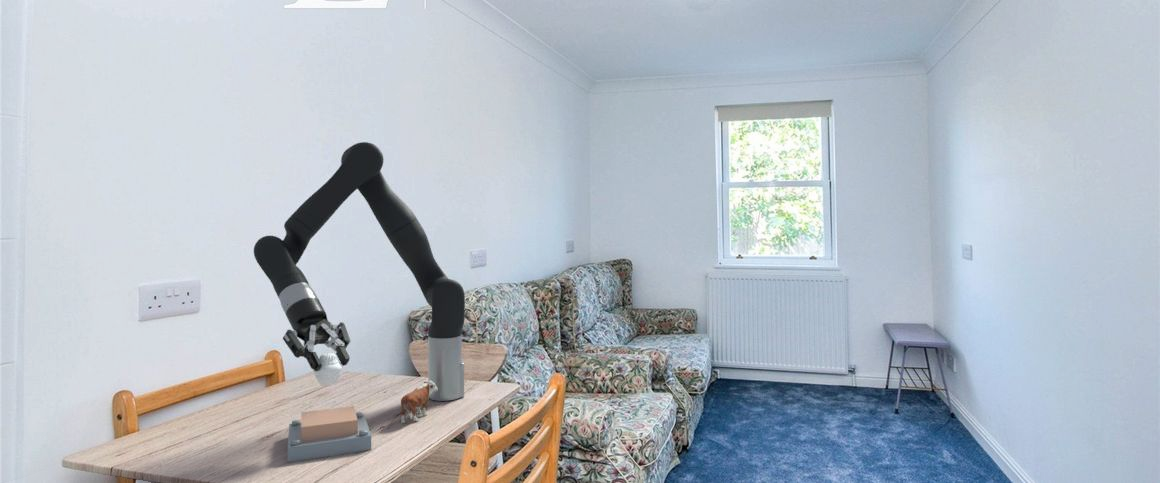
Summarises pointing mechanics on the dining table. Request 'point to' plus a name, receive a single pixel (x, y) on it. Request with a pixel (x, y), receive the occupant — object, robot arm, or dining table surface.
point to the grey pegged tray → (328, 434)
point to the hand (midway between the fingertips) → (332, 365)
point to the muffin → (328, 370)
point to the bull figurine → (417, 400)
